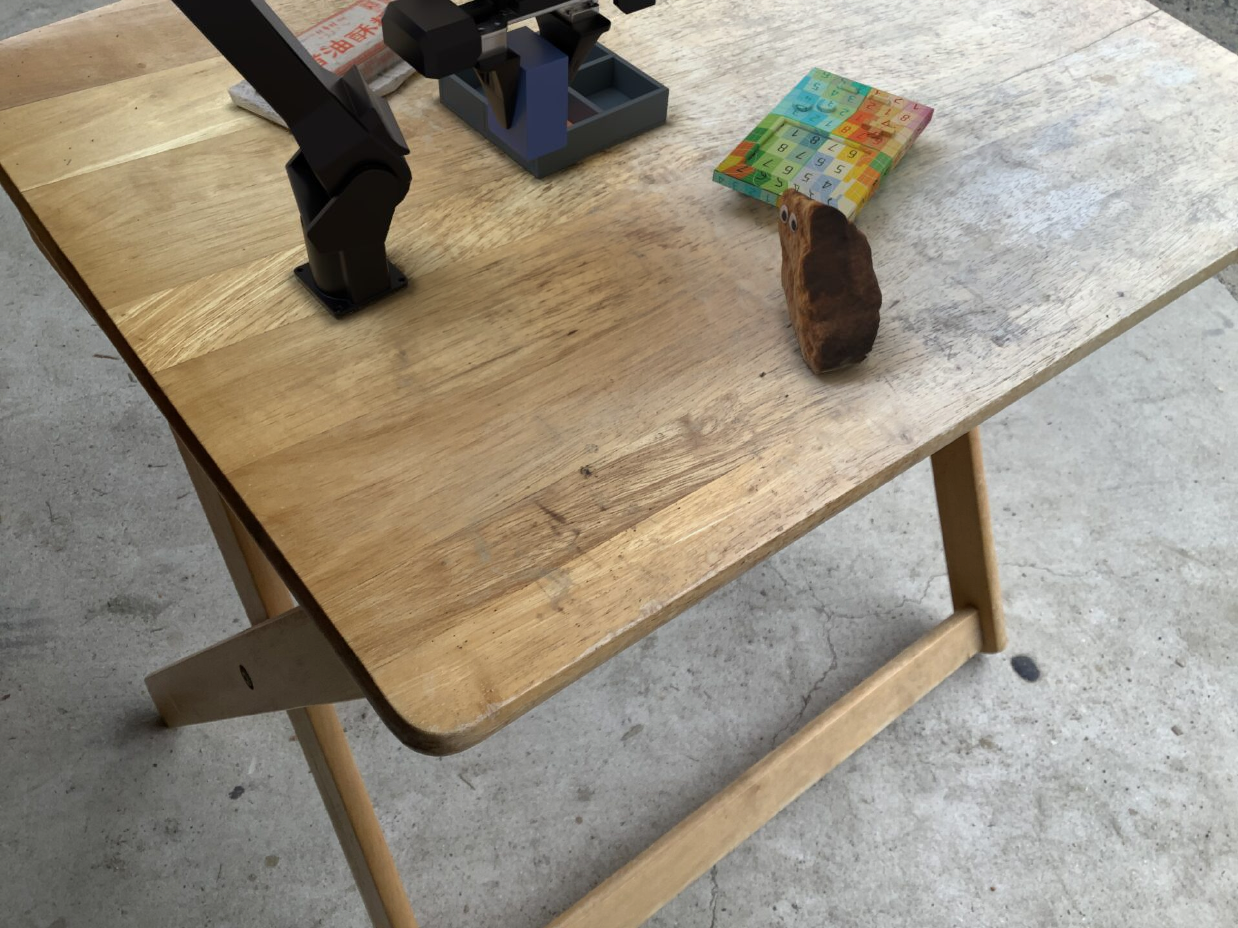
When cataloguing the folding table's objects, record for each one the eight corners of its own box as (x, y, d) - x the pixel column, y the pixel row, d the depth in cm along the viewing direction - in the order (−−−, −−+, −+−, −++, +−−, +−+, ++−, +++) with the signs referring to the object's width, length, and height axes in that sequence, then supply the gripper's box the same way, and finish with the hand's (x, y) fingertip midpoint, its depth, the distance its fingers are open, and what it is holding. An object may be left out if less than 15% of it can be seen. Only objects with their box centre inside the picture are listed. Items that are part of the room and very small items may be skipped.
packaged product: (358, -21, 105) (439, 12, 101) (364, 28, 108) (443, 60, 105) (217, 55, 94) (303, 94, 91) (229, 106, 98) (312, 144, 95)
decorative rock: (756, 278, 86) (779, 161, 78) (829, 272, 87) (859, 156, 79) (800, 385, 79) (831, 268, 71) (879, 377, 80) (918, 261, 72)
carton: (567, 146, 79) (568, 56, 74) (527, 161, 78) (526, 71, 72) (527, 114, 82) (525, 25, 76) (488, 129, 80) (484, 39, 75)
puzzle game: (937, 99, 96) (847, 211, 85) (923, 145, 100) (835, 259, 88) (817, 57, 100) (715, 160, 88) (807, 104, 103) (708, 208, 92)
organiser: (666, 123, 100) (669, 88, 97) (538, 179, 93) (538, 143, 91) (565, 55, 107) (566, 20, 104) (439, 102, 100) (437, 67, 98)
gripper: (567, -181, 75) (564, 35, 86) (321, -123, 67) (355, 106, 78) (671, -123, 69) (653, 98, 81) (418, -52, 61) (439, 182, 73)
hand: (526, 118), depth 79 cm, fingers closed on carton, 3 cm apart
